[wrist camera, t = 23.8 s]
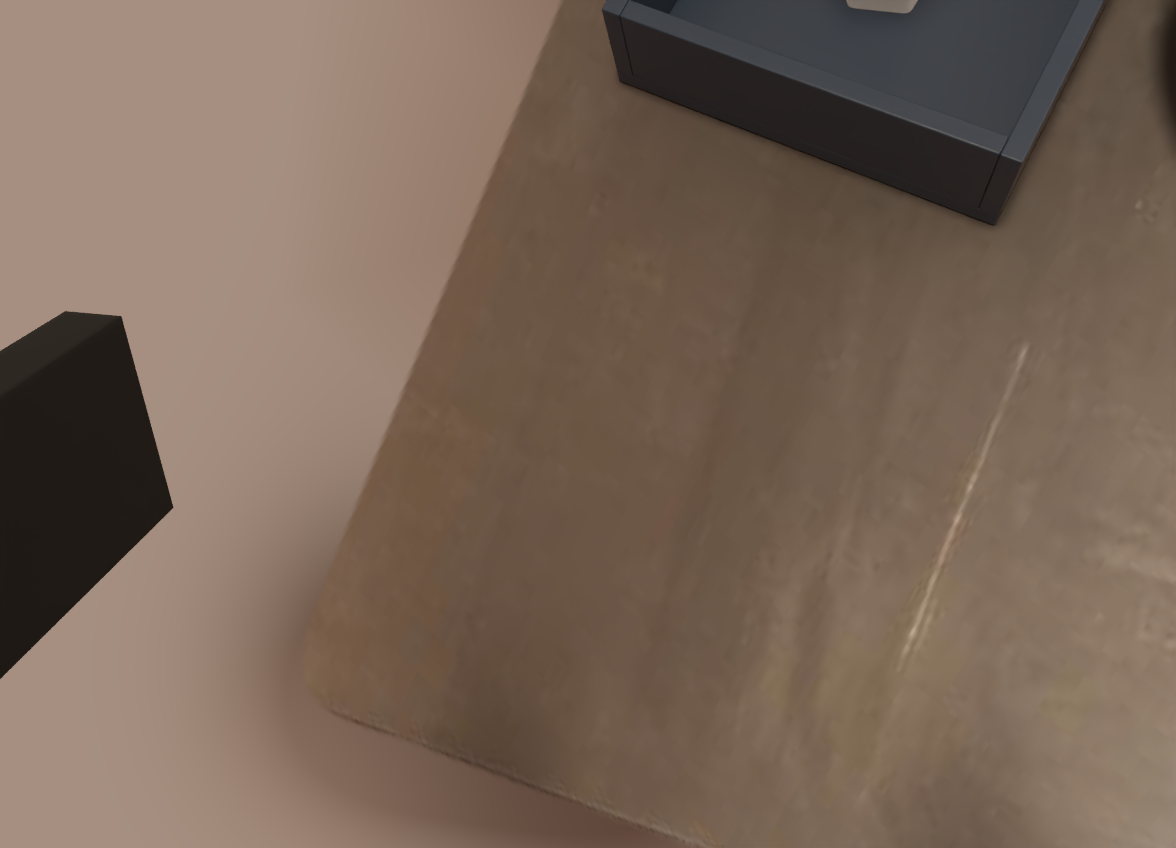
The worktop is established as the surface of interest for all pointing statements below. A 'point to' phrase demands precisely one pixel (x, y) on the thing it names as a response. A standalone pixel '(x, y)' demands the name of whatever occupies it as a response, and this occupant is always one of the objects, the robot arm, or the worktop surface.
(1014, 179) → the bin
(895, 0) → the perfume bottle
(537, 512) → the worktop surface
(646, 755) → the worktop surface
